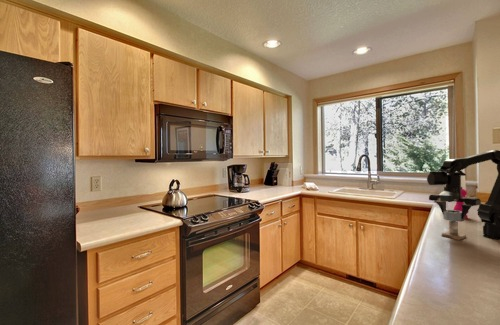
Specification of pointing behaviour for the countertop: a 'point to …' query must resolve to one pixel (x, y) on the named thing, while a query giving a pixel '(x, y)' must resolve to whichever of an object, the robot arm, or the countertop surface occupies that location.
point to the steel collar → (453, 215)
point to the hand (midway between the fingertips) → (453, 217)
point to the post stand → (453, 231)
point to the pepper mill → (458, 204)
